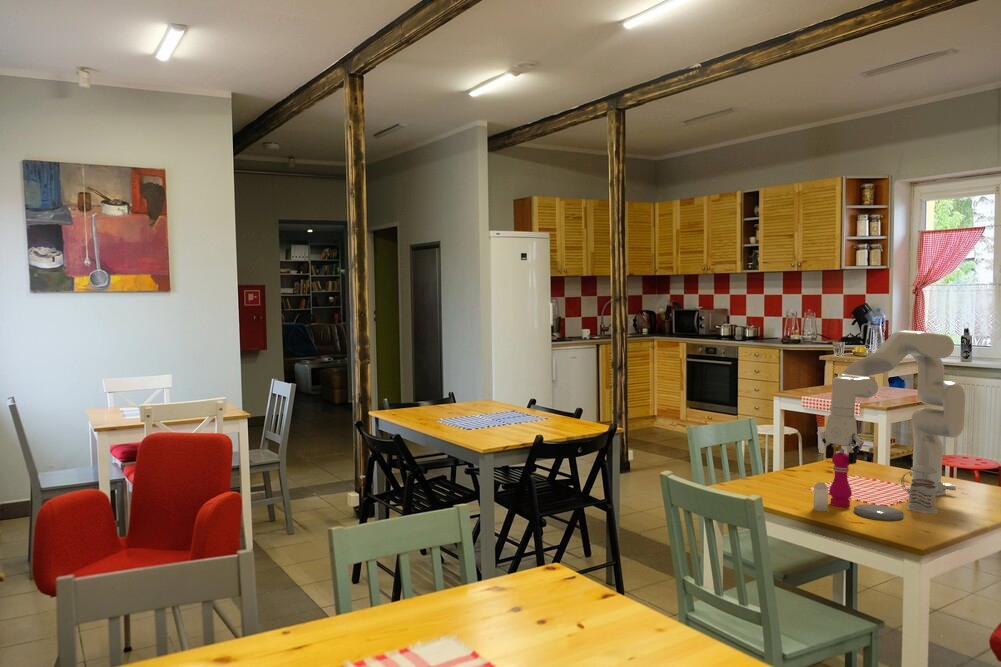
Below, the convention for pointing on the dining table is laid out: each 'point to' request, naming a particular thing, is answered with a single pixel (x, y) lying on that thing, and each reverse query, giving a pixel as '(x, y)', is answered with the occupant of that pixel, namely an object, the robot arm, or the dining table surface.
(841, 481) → the pepper mill
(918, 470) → the french press
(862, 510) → the disc
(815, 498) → the salt shaker
